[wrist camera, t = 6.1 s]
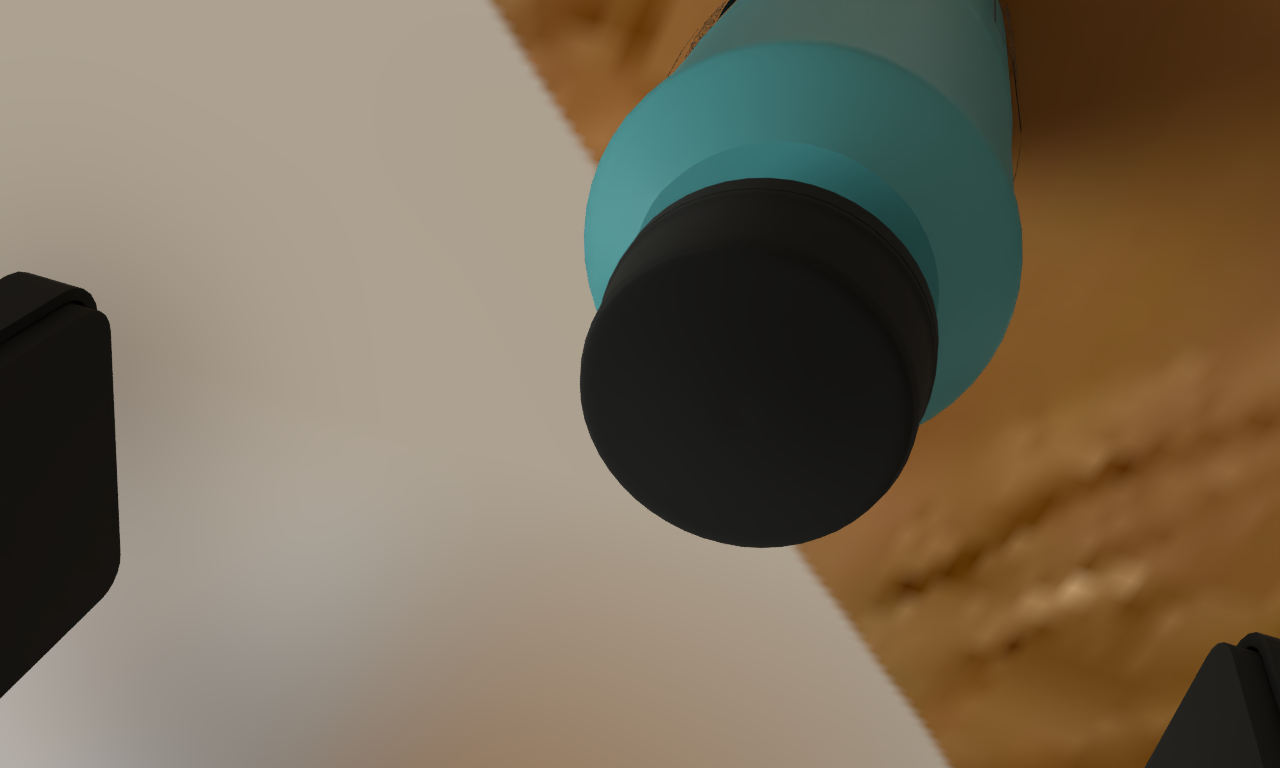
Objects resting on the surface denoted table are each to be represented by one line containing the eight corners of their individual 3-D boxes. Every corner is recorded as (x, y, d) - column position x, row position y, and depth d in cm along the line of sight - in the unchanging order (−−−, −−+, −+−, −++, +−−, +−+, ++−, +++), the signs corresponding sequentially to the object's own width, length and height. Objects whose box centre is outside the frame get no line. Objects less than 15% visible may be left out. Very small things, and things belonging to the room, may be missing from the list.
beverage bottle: (807, -144, 29) (536, 10, 12) (1067, -38, 29) (1176, 281, 11) (711, 107, 32) (390, 510, 15) (943, 205, 32) (884, 734, 15)
